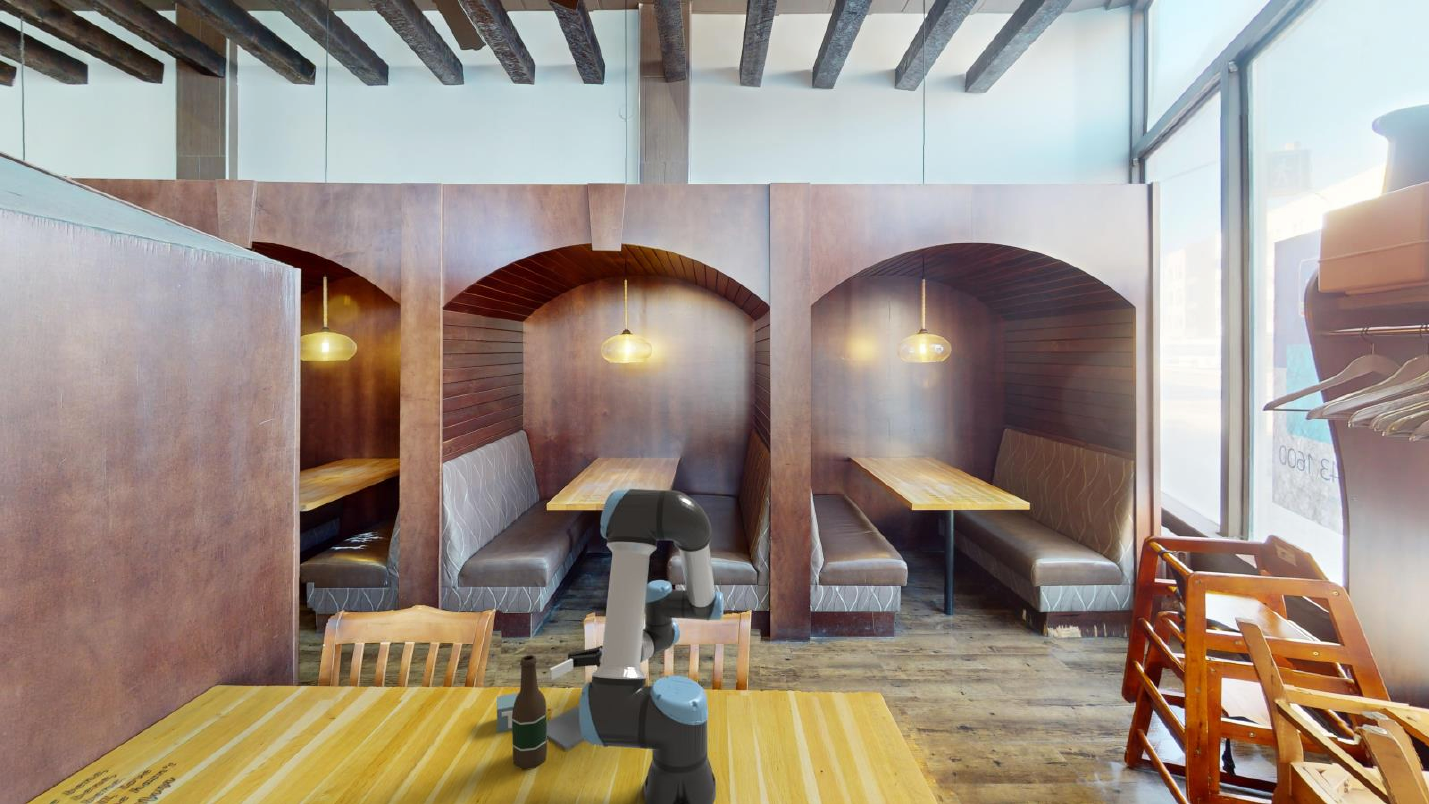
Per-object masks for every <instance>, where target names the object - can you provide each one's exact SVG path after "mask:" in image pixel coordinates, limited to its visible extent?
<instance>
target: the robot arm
mask: <svg viewBox="0 0 1429 804" xmlns="http://www.w3.org/2000/svg"><path fill="white" fill-rule="evenodd" d="M600 535H601V537H603V538H604V539H605V540H606V541H607V542H606V547H608V549H609V550H610V551H611V553H612V556H611V563H610V572H609V573H610V574H609V584H608V594H607V600H606V610H605V611H606V613H605V621H604V628H603V629H604V630H603V631H604V632H603V641H602V645H599V646H596V647H593V648H589V649H583V650H579V651H578V650H577V651H572V652H568V653H567V659H566V660H564V661H562V662H560V663H558V664H556V665H555V666H552V667H550V668H549V680H550V681H553V680H555V679H557V678H559V677H561V676H563V675H565V674H568V673H570V672H571V671H573V670H574V668H581V667H593V666H596V667H597V668H596V670H595V671H594V672H592V675H591V681H589V682H586V683H585V684H584V686H582V689H581V693H580V694H581V695H580V697H579V703H578V705H579V706H578V707H579V723H580V729H581V732H582V736H583V738H584V739H585V740H584V741H586V742H587V743H588V744H589V745H596V746H601V747H604V748H608V747H614V748H615V747H618V748H629V749H645V750H651V753H652V755H651V757H652V758H651V761H650V765H649V767H648V772H647V775H646V777H645V780H644V785H643V799H644V802H645V804H714V802H715V800H716V796H717V792H716V791H717V783H716V782H717V781H716V777H715V774H714V773H713V770H712V769H713V768H712V765H711V763H710V759H709V756H708V755H709V754H708V747H709V746H708V743H709V742H708V719H709V710H708V709H709V708H708V696H707V693H706V691H705V689H704V688H703V687H702V686H701V685H700V684H699V683H698V682H696V681H695V680H693V679H691V678H689V677H686V676H680V675H667V676H666V677H664V676H663V677H660V678H658V679H657V680H655V681H654V682H653V684H652V686H651V685H650V686H648V685H646V683H647V682H646V681H647V675H646V674H645V672H644V671H643V670H642V669H641V663H643V662H645V661H646V660H648V659H650V658H652V657H654V656H656V655H658V654H660V653H662V652H664V651H666V650H668V649H670V648H671V647H673V646H674V645H676V644H677V643H678V642H679V640H680V638H681V629H680V628H679V624H678V623H677V622H676V620H675V619H682V620H683V619H686V620H687V619H688V620H689V619H690V620H700V621H701V620H704V621H719V620H721V619H722V618H723V615H724V604H725V602H724V601H725V600H724V594H723V592H721V591H716V590H715V583H714V582H715V581H714V575H713V567H712V566H713V565H712V557H711V552H710V551H711V550H710V544H711V540H712V539H713V531H712V526H711V522H710V520H709V517H708V515H707V513H706V512H705V511H704V509H703V508H702V507H701V505H700V504H698V503H697V502H696V500H694V499H693V498H691V497H690V496H689V495H687V494H686V493H683V492H681V491H678V490H670V489H668V490H665V489H663V490H661V489H659V490H658V489H642V488H641V489H640V488H639V489H637V488H636V489H635V488H629V489H616V490H614V491H612V492H611V493H610V494H609V495H608V497H607V498H606V500H605V503H604V506H603V508H602V512H601V516H600ZM658 541H673V544H674V545H675V547H676V548H677V549H678V550H679V556H680V562H681V569H682V573H683V578H684V583H685V590H683V589H673V586H672V584H671V582H670V581H668V580H664V579H657V580H652V581H649V582H648V577H649V564H650V556H651V555H652V554H653V553H654V552H655V551H656V550H657V547H658Z"/></svg>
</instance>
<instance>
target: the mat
mask: <svg viewBox="0 0 1429 804" xmlns="http://www.w3.org/2000/svg"><path fill="white" fill-rule="evenodd" d="M548 739H549V740H550V741H551V742H553V743H555V744H556V745H557V746H559V747H560V748H561V749H562V750H565V751H568V750H571V749H572V748H574V747H575V746H577V745H578V744H580V743H582V742H584V741H586V740H585V739H584V738H583V736H582V732H581V729H580V723H579V706H577V705H576V706H574V707H572V708H569V710H566V711H564V712H563V713H560V714H559V715H558V716H555V717H554V718H552V719H550V720H548V721H547V740H548Z"/></svg>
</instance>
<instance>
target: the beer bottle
mask: <svg viewBox="0 0 1429 804" xmlns="http://www.w3.org/2000/svg"><path fill="white" fill-rule="evenodd" d="M537 661H538V660H537V657H536V656H535V655H533V654H529V655H527V654H526V655H524V656H522V657H521V659H520V663H519V665H520V667H521V668H520V688H519V692H518V693H519V694H518V695H517V697H516V700H515V703H514V707H513V711H512V730H511V731H512V760H513V765H514V766H515V767H516V768H519V769H520V770H529V769H536V768H538V767H539V766H540V765H542V764H544V763H545V761H546V760H547V754H548V753H547V751H548V738H547V722H548V721H547V719H548V718H547V701H546V698H545V696H544V693H542V691H541V690H540V689H539V686H538V678H537V676H538V675H537V666H536V665H537Z"/></svg>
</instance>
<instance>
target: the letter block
mask: <svg viewBox="0 0 1429 804" xmlns="http://www.w3.org/2000/svg"><path fill="white" fill-rule="evenodd" d="M518 694H519V692H516V693H510V694H509V693H508V694H506V695H505V694H504V695H500V696H499V695H498V696H497V697H496V726H497V727H496V730H497V733H503V732H508V731H512V711H513V707H514V703H515V700H516V697H517V695H518Z"/></svg>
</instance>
